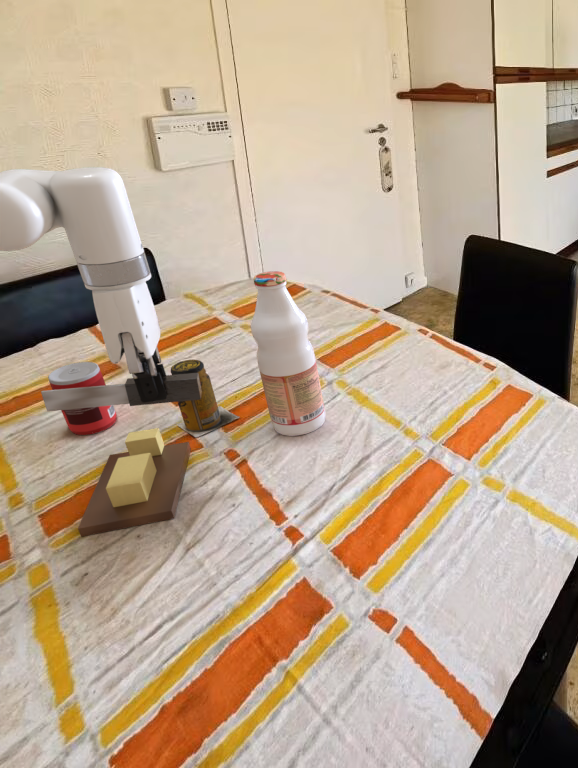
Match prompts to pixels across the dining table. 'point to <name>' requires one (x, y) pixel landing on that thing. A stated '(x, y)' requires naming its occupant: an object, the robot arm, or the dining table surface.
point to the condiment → (201, 403)
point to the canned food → (83, 418)
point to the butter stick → (131, 480)
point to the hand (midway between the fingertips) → (156, 394)
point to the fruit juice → (286, 358)
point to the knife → (122, 393)
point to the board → (155, 509)
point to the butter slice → (145, 442)
